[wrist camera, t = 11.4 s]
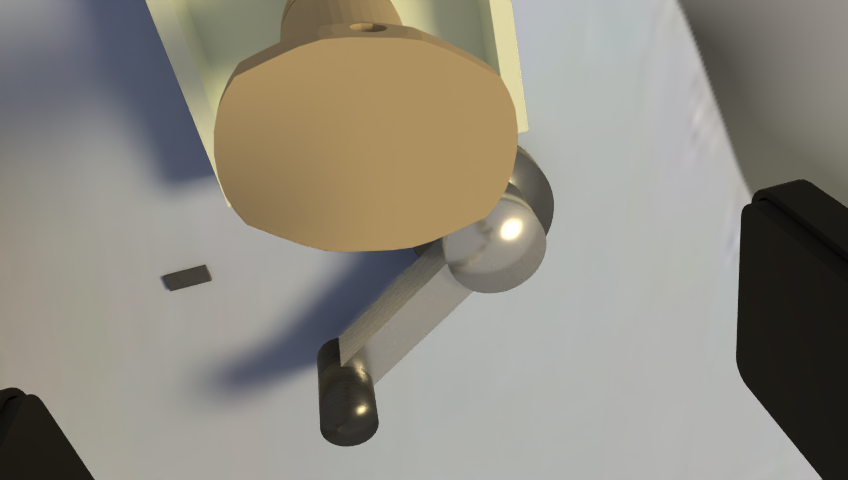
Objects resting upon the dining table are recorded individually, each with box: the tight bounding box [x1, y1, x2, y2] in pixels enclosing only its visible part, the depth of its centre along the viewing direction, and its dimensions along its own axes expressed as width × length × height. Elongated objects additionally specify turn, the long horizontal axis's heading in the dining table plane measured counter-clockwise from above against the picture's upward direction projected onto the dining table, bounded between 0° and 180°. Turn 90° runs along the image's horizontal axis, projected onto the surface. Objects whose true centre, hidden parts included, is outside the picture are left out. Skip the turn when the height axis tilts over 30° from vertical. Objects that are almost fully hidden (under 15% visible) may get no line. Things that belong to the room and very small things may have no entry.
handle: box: [214, 0, 518, 252], centre depth 22 cm, size 5×6×15 cm
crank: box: [317, 182, 546, 446], centre depth 33 cm, size 14×4×5 cm, turn 136°
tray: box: [145, 0, 528, 207], centre depth 27 cm, size 13×13×4 cm
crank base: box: [164, 145, 554, 291], centre depth 34 cm, size 7×19×2 cm, turn 101°
